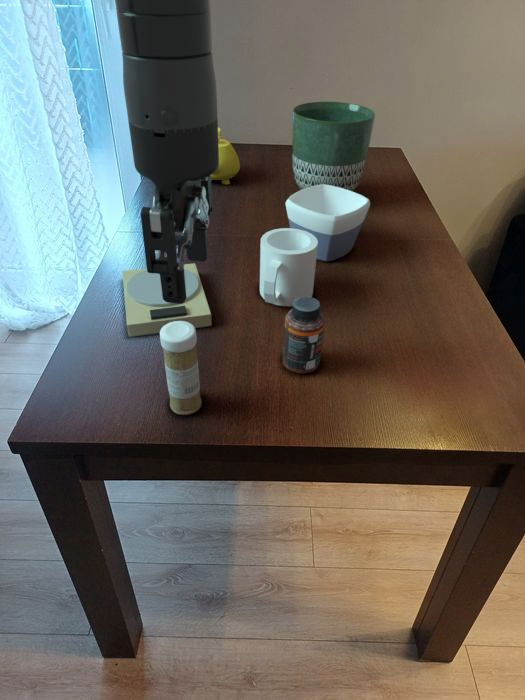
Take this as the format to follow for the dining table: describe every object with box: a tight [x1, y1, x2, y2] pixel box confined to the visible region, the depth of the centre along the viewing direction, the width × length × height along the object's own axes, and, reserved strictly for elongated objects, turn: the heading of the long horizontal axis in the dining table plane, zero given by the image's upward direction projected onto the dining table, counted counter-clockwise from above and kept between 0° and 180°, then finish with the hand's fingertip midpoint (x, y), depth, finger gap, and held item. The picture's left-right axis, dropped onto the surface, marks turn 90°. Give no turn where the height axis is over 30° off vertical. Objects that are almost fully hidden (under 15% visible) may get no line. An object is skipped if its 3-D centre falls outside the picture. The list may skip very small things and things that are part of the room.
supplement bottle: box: [282, 296, 326, 374], centre depth 75 cm, size 6×6×11 cm
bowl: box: [285, 184, 371, 262], centre depth 105 cm, size 15×15×11 cm
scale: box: [121, 262, 213, 338], centre depth 90 cm, size 14×18×3 cm
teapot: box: [211, 126, 241, 185], centre depth 136 cm, size 20×15×12 cm
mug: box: [259, 227, 318, 307], centre depth 90 cm, size 14×10×11 cm
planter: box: [291, 101, 376, 192], centre depth 124 cm, size 20×20×21 cm
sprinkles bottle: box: [159, 321, 202, 416], centre depth 66 cm, size 5×5×14 cm
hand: (187, 279), depth 52 cm, fingers open, 8 cm apart
